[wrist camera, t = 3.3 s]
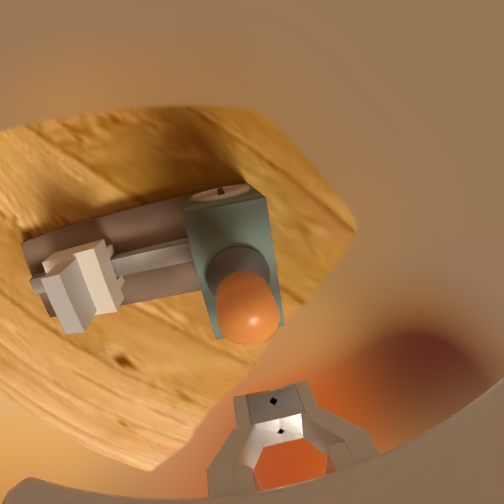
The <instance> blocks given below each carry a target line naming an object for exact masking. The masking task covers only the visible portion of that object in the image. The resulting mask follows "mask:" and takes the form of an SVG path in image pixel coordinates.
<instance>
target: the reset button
mask: <svg viewBox="0 0 504 504" xmlns="http://www.w3.org/2000/svg"><path fill="white" fill-rule="evenodd" d="M216 307H217V322H218V327H219V330H220V332H221V333H222V335H223V336H224V337H225V338H227V339H228V340H230V341H231V342H234V343H237V344H242V345H251V344H256V343H259V342H262V341H264V340H265V339H267V338H268V337H270V336H271V335H272V334H273V333H274V331H275V330H276V328H277V327H278V324H279V321H280V312H279V309H278V306H277V304H276V302H275V299H274V297H273V295H272V293H271V290H270V288H269V286H268V284H267V282H266V280H265V279H264V278H263V277H262V276H260V275H259V274H257V273H255V272H251V271H237V272H234V273H231V274H230V275H228V276H226V277H225V278H224V279H223V280H222V281H221V282H220V284H219V285H218V288H217V291H216Z"/></svg>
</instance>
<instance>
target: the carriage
mask: <svg viewBox="0 0 504 504" xmlns="http://www.w3.org/2000/svg"><path fill="white" fill-rule="evenodd" d="M114 253H115V252H114V248H113V245H108V246H106V245H105V241H104V239H102V240H99V241H95V242H91V243H87V244H84V245H80V246H76V247H73V248H69V249H66V250H62V251H59V252H55V253H53V254H52V255H51V256H49V257H48V258H47V259H46V260H44V261H43V262H42V264H43V267H44V270H45V272H46V275H44V276H43V277H42V278H41V281H42V284H43V286H44V289H45V291H46V293H47V296H48V298H49V300H50V302H51V305H52V307H53V309H54V311H55V313H56V315H57V317H58V319H59V321H60V323H61V325H62V327H63V329H64V331H65V333H66V334H73V333H81V332H85V331H86V329H87V327H88V325H89V324H90V322H91V320H92V318H93V317H94V315H99V314H106V313H112V312H117V311H118V309H119V307H120V305H121V303H122V301H123V299H124V296H123V294H122V291H121V287H122V285H123V283H124V282H125V281H124V278H123V276H118V277H116V275H115V272H114V269H113V266H112V263H111V260H110V258H111V257H112V255H113V254H114Z"/></svg>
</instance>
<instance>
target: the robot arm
mask: <svg viewBox="0 0 504 504" xmlns="http://www.w3.org/2000/svg"><path fill="white" fill-rule="evenodd" d="M233 401H234V410H235V417H236V425H237V428H234V429H233V430H232V432H231V433H230V435H229V437H228V438H227V440H226V441H225V443H224V445H223V446H222V448H221V449H220V451H219V452H218V454H217V455H216V457H215V458H214V460H213V462H212V463H211V465H210V466H209V468H208V469H207V481H208V497H205V498H181V499H165V498H163V499H162V498H139V497H128V496H118V495H110V494H103V493H97V492H91V491H85V490H80V489H75V488H71V487H66V486H62V485H58V484H54V483H50V482H47V481H43V480H40V479H37V478H33V477H28V478H26V479H24V480H23V481H21V482H20V483H18V484H17V485H16V486H15V487H13V488H12V489H11V490H10V491H9V492H8V493H7V495H6V496H5V498H4V500H3V503H2V504H504V378H503V379H501V380H500V381H499V382H498V383H497V384H495V385H494V386H493V387H492V388H490V389H489V390H488V391H487V392H485V393H484V394H483V395H482V396H480V397H479V398H477V399H476V400H475V401H473V402H472V403H471V404H469V405H468V406H466V407H465V408H463V409H462V410H460V411H459V412H457V413H456V414H455V415H453V416H451V417H450V418H448V419H447V420H445V421H444V422H442V423H440V424H439V425H437V426H436V427H434V428H432V429H430V430H428V431H427V432H425V433H423V434H421V435H419V436H418V437H416V438H414V439H412V440H410V441H408V442H406V443H404V444H402V445H401V446H398V447H396V448H394V449H392V450H390V451H387V452H385V453H383V454H381V455H380V454H379V452H378V450H377V448H376V447H375V444H374V443H373V441H372V439H371V437H370V435H369V433H368V432H367V431H366V430H363V429H362V428H360V427H358V426H356V425H354V424H352V423H350V422H348V421H346V420H344V419H342V418H341V417H339V416H337V415H335V414H333V413H331V412H330V411H328V410H326V409H324V408H320V409H319V407H318V405H317V402H316V400H315V398H314V396H313V393H312V391H311V389H310V386H309V384H308V382H307V381H306V380H305V381H302V382H298V383H295V384H290V385H286V386H282V387H279V388H274V389H271V390H267V391H262V392H257V393H252V394H246V395H241V396H235V397H234V398H233ZM300 438H304V439H305V440H307V441H308V442H309V443H310V444H312V445H313V446H314V447H316V448H317V449H319V450H320V451H321V452H323V453H324V454H326V455H327V465H326V475H325V476H321V477H318V478H314V479H311V480H307V481H303V482H300V483H295V484H291V485H287V486H283V487H278V488H273V489H268V490H263V491H262V489H261V487H260V484H259V482H258V480H257V478H256V476H255V474H254V472H253V469H254V467H255V465H256V463H257V460H258V458H259V456H260V454H261V452H262V449H263V447H266V446H270V445H274V444H278V443H282V442H286V441H291V440H296V439H300Z"/></svg>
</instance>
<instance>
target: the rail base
mask: <svg viewBox="0 0 504 504" xmlns="http://www.w3.org/2000/svg"><path fill="white" fill-rule="evenodd" d="M102 239H104V241H105V245H106V246H108V245H113V248H114V252H115V253H114V254H113V255H112V257H111V258H110V260H111V263H112V266H113V269H114V272H115V275H116V277H118V276H123V278H124V281H125V282H124V283H123V285H122V287H121V291H122V294H123V296H124V299H123V301H122V303H121V305H126V304H131V303H137V302H142V301H148V300H153V299H158V298H164V297H169V296H174V295H179V294H184V293H189V292H194V291H199V290H202V293H203V297H204V300H205V304H206V307H207V311H208V314H209V318H210V321H211V324H212V328H213V331H214V334H215V338H216V340H217V339H222V338H225V337H224V336H223V335H222V333H221V332H220V330H219V327H218V322H217V307H216V291H217V288H218V285H219V284H220V282H221V281H222V280H223V279H224V278H225V277H226V276H228V275H230V274H231V273H234V272H237V271H251V272H255V273H257V274H259V275H260V276H262V277H263V278H264V279H265V280H266V282H267V284H268V286H269V288H270V290H271V293H272V295H273V297H274V299H275V302H276V304H277V306H278V309H279V312H280V321H279V324H278V326H282V325H284V318H283V310H282V303H281V296H280V289H279V282H278V275H277V268H276V261H275V254H274V247H273V241H272V234H271V227H270V221H269V214H268V208H267V202H266V197H265V196H263V195H262V194H261V193H260V192H258V191H257V190H256V189H255V188H253V187H252V186H251V185H250V184H248V183H247V182H242V183H237V184H231V185H226V186H221V187H216V188H211V189H207V190H202V191H197V192H193V193H188V194H184V195H179V196H175V197H171V198H167V199H162V200H158V201H154V202H150V203H146V204H142V205H139V206H135V207H131V208H127V209H123V210H120V211H116V212H113V213H109V214H105V215H102V216H99V217H95V218H92V219H88V220H85V221H82V222H78V223H75V224H72V225H69V226H66V227H63V228H60V229H56V230H53V231H50V232H47V233H45V234H42V235H39V236H36V237H33V238H30V239H27V240H25V241H24V242H22V243H20V244H21V247H22V250H23V253H24V256H25V258H26V261H27V264H28V267H29V269H30V272H31V275H32V278H31V279H30V280H29V281H30V283H31V286H32V288H33V290H34V293H35V294H40V296H41V299H42V301H43V303H44V305H45V307H46V310H47V312H48V314H49V316H50V317H55V316H57V315H56V313H55V311H54V309H53V307H52V305H51V302H50V300H49V298H48V296H47V293H46V291H45V289H44V286H43V284H42V281H41V278H42V277H43V276H44V275H46V272H45V270H44V267H43V264H42V262H43V261H44V260H46V259H47V258H48V257H49V256H51V255H52V254H53V253H55V252H59V251H62V250H66V249H69V248H73V247H76V246H80V245H84V244H87V243H91V242H95V241H99V240H102Z"/></svg>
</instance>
